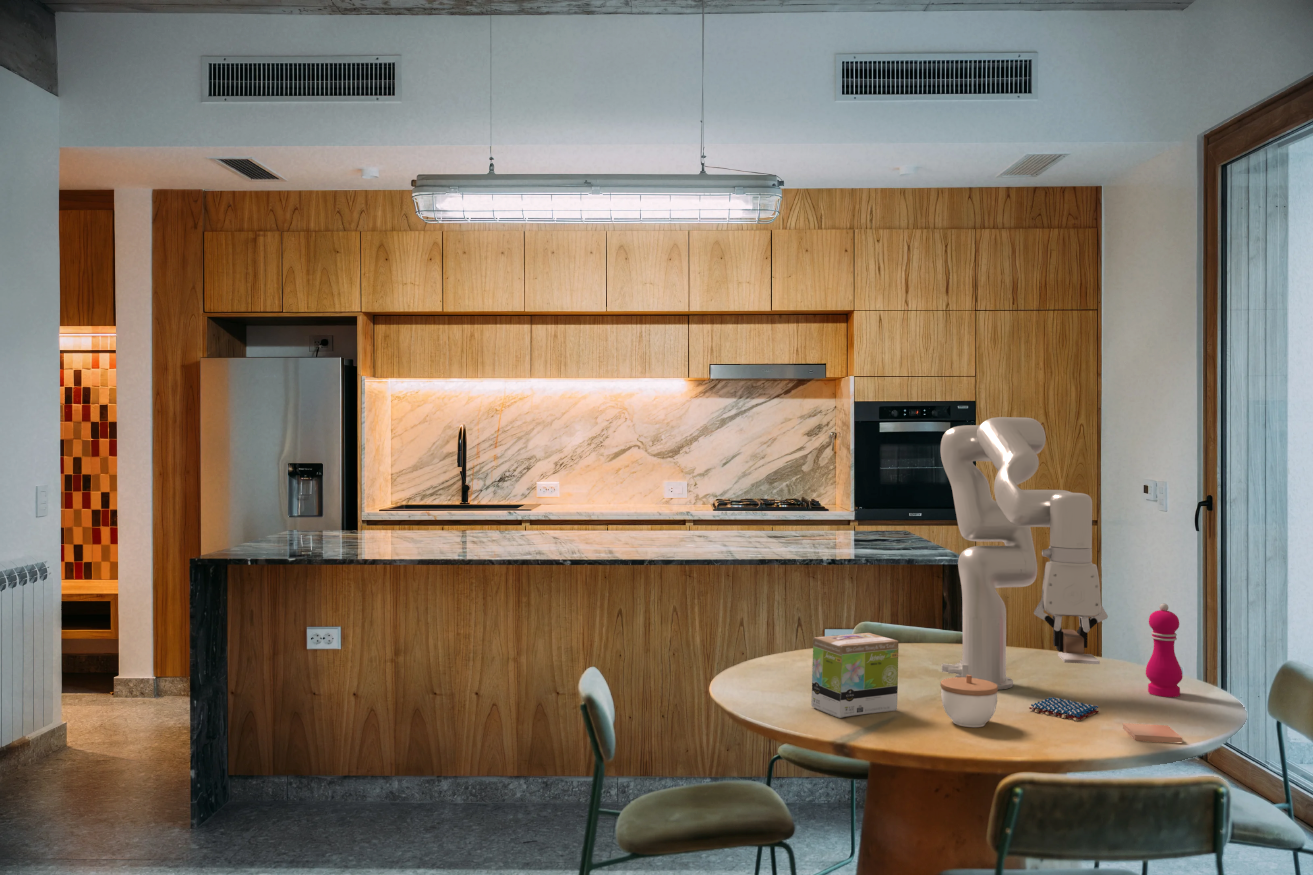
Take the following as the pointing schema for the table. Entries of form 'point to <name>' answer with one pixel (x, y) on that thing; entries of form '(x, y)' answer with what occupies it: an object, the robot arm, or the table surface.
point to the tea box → (854, 674)
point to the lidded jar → (969, 700)
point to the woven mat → (1064, 708)
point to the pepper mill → (1164, 654)
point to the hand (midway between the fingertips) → (1070, 649)
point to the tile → (1151, 733)
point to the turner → (1075, 649)
